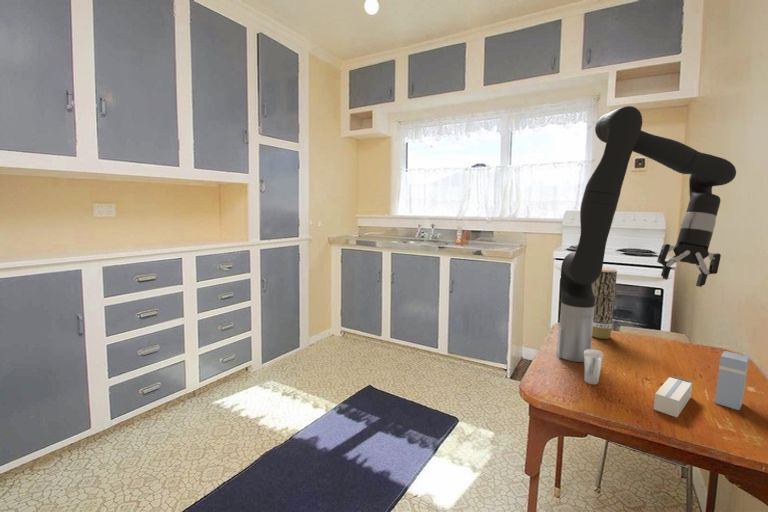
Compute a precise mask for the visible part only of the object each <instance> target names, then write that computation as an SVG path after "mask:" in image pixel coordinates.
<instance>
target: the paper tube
mask: <svg viewBox="0 0 768 512" xmlns="http://www.w3.org/2000/svg"><path fill="white" fill-rule="evenodd" d="M617 275H618V270H617V269H616V268H610V267H602V272H601V274H600V276H599V278H598V279H597V280H596V281H595V282H594V283H593V286H592V291H593V294H594V296H595V307H594V318H593V330H592V338H596V339H599V340H601V339H602V340H607V339H608V340H609V339H611V337H612V327H613V318H614V309H615V298H616V297H615V296H616V295H615V294H616V284H617Z"/></svg>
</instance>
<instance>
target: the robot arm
mask: <svg viewBox="0 0 768 512" xmlns="http://www.w3.org/2000/svg"><path fill="white" fill-rule="evenodd" d="M642 127H643V116H642V113H641V111H640V110H639V109H638V108H637V107H635V106H632V105H631V106H630V105H628V106H623V107H619V108H617V109H615V110H611V111H609V112H607V113H605V114H603V115H602V116H600V117H599V119H598V120H597V121H596V123H595V127H594V131H595V135H596V137H597V138H598V139H599V140H600V142H602V143H605V146H604V150H603V151H604V152H603V154H602V157H601V159H600V161H599V163H598V164H597V166H596V167H595V169H594V171H593V172H592V174H591V176H590V177H589V180H588V181H587V183H586V185H585V189H584V192H583V196H582V199H581V203H580V213H579V218H580V219H579V221H580V236H579V239H578V240H579V241H578V244H577V248H576V250H575V251H571V252H570V253H567V255H566V256H565V257H564V258H563V260H562V262H561V269H560V287H559V289H560V294H561V303H560V316H559V317H560V318H559V323H558V328H557V329H558V330H557V342H556V354H557V357H558V358H559V359H563V360H567V361H570V362H576V363H584V351H585V350H586V349H591V343H593V342H592V340H593V336H592V330H593V318H594V307H595V296H594V294H593V284H594V282H595V281H596V280H597V279H598V278H599V276H600V274H601V272H602V268H604V267H603V266H604V260H605V259H604V258H605V253H606V247H607V241H608V237H609V234H610V231H611V228H612V224H613V221H614V216H615V214H616V211H617V207H618V203H619V200H620V196H621V191H622V186H623V185H624V180H625V177H626V174H627V169H628V167H629V166H628V165H629V162H630V159H631V156H632V153H633V152H634V153H636V154H639V155H640V156H644V157H646V158H648V159H650V160H651V161H654V162H657V163H658V164H661V165H663V166H665V167H666V168H669V169H671V170H672V171H674V172H677V173H679V174H681V175H689V179H688V182H689V183H688V187H689V189H688V190H689V191H688V192H689V193H688V194H689V202H688V204H687V205H688V206H687V209H686V211H685V215H684V217H683V220H682V223H680V229H679V234H678V237H677V240H676V244H675V245H670V243H669V244H668V243H664V244H663V245H662V246H661V249H660V251H659V254H658V258H657V261H656V262H657V263H658V264H661V265H662V271H661V274H660V276H661V277H662V279H663V280H668V279H669V276H670V273H671V269H672V268H671V266H673V265H674V264H676V263H677V262H681V263H687V264H689V265H690V264H691V265H695V266H696V268H698V271H699V274H698V277H697V280H696V283H695V286H696V287H700V288H702V286H705V284H706V282H707V280H708V279H707V278H708V276H709V275H716V274H718V270H719V266H720V262H721V261H720V260H721V257H722V254H721V253H719V252H718V253H713V252H709V248H710V244H711V240H712V236H713V235H714V230H715V226H716V223H717V216H718V212H719V209H720V205H721V197H720V196H719V195H717V194H713V187H718V186H719V187H720V186H726V185H727V184H729V183H731V182H732V181H733V180H734V179H735V178H736V175H737V169H736V167H735V165H734V164H733V162H731V161H729V160H727V159H726V158H723V157H719V156H716V155H712V154H708V153H705V152H700V151H698V150H696V149H695V148H693V147H691V146H689V145H686V144H684V143H682V142H680V141H677V140H675V139H671V138H667V137H664V136H659V135H655V134H652V133H649V132H647V131H643V130H642ZM671 251H673V253H674V255H673V256H671V257H670V258H669V259H668V260H666V259H667V256H668V253H670V252H671ZM707 257H708V260H709V268H708V267H707V263H706V262H705V259H706V258H707Z"/></svg>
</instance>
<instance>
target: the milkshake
mask: <svg viewBox="0 0 768 512" xmlns="http://www.w3.org/2000/svg"><path fill="white" fill-rule="evenodd" d="M593 346H594V344H593V342H591V349H586V350H585V351H584V362H583V365H584V366H583V368H584V369H583V372H584V373H583V374H584V376H583V380H584V382H585V383H587V384H589V385H598V384H599V381H600V380H599V379H600V374H601V368H602V363H603V358H604V354H603V352H602V351H601V350H599V349H594V347H593Z"/></svg>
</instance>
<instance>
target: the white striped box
mask: <svg viewBox="0 0 768 512" xmlns="http://www.w3.org/2000/svg"><path fill="white" fill-rule="evenodd" d="M692 389H693V381H691V380H688V379H684V378H680V377H677V376H674V375H670V376H669V377H668V378H667V379H666V380H665V382H664V383H663V384H662V385H661V386H660V387H659V388H658V390H657V391H656V392H655V394H654V401H653V402H654V403H653V410H655V411H656V412H660V413H663V414H666V415H669V416H672V417H674V418H678V417H679V415H680V414H681V412H682V411H683V409H684V408H685V406H686V405H687V404H688V402H689V400H690V399H691V397H692V392H693V391H692Z"/></svg>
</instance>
